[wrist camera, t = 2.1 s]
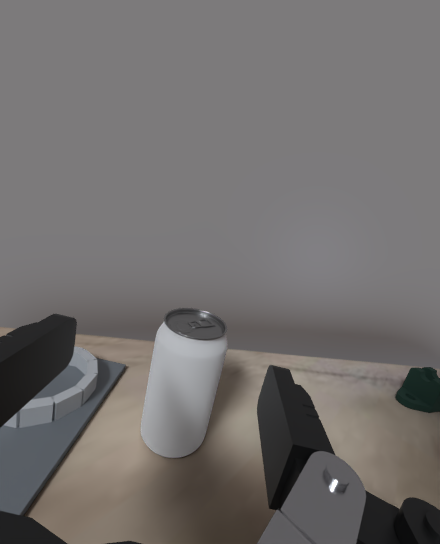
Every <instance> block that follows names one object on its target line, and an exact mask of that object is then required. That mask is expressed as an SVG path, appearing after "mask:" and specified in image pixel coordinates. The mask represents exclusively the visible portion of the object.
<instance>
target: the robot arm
mask: <svg viewBox="0 0 440 544" xmlns="http://www.w3.org/2000/svg"><path fill="white" fill-rule="evenodd" d="M76 323H77V322H76V319H75V318H71V317H67V316H63V315H59V314H53V315H51V316H49V317H47V318H46V319H43V320H42V321H40V322H38V323H33V324H29V325H26V326H22V327H19V328H17V329H15V330H13V331H11V332H10V333H8V334H7V335H6V336H2V337H0V428H1V427H2V426H3V425H4V424H5V423H6V422H7V421H8V420H10V419H11V418H12V417H13V416H14V415H15V414H16V413H17V412H18V411H19V410H21V409H22V408H23V407H24V406H25V405H26V404H27V403H28V402H29V401H30V400H31V399H33V398H34V397H35V396H36V395H37V394H38V393H39V392H40V391H41V390H42V389H44V388H45V387H46V386H47V385H48V384H49V383H50V382H51V381H52V380H53V379H54V378H56V377H57V376H58V375H59V374H60V373H61V372H62V371H63V370H64V369H65V368H66V367H67V366H68V365H69V363H70V361H71V359H72V357H73V353H74V345H75V335H76V325H77V324H76ZM257 416H258V424H259V432H260V440H261V448H262V456H263V464H264V472H265V480H266V488H267V496H268V504H269V509H273V510H276V512H275V514H274V515H273V517H272V519H271V520H270V522H269V524H268V526H267V527H266V529H265V531H264V532H263V534H262V536H261V538H260V539H259V541H258V543H257V544H440V510H439V509H437V508H436V507H434V506H433V505H431V504H429V503H427V502H425V501H423V500H421V499H418V498H407V499H405V500H404V502H403V504H402V506H401V508H400V509H398V508H397V507H395V506H393V505H391V504H389V503H387V502H385V501H384V500H382V499H380V498H378V497H376V496H374V495H372V494H371V493H369V492H367V491H366V490H365V488H364V486H363V483H362V481H361V480H360V478H359V476H358V475H357V474H356V472H355V471H354V470H353V469H352V468H351V467H350V466H349V465H348V464H347V463H346V462H345V461H343V460H342V459H340V458H339V457H337V456H335V453H334V451H333V449H332V446H331V444H330V442H329V439H328V437H327V435H326V432H325V430H324V428H323V425H322V423H321V421H320V419H319V416H318V414H317V411H316V410H315V407H314V404H313V402H312V400H311V397H310V396H309V394H308V393H307V392H306V391H305V390H304V389H303V387H302V386H301V385H297V384H295V383H294V380H293V378H292V375H291V372H290V370H289V369H286V368H281V367H277V366H273V365H270V366H269V367H268V370H267V373H266V376H265V379H264V383H263V386H262V389H261V392H260V395H259V399H258V406H257ZM0 544H67V543H66V542H64V541H63V540H62V539H60V538H59V537H57V536H56V535H55V534H53V533H52V532H50V531H49V530H48V529H46V528H45V527H43V526H42V525H41V524H39V523H38V522H36V521H35V520H34V519H32V518H30V517H25V516H21V515H17V514H13V513H8V512H4V511H0ZM107 544H141V543H137V542H132V541H125V542H116V543H107Z"/></svg>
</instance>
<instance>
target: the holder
mask: <svg viewBox="0 0 440 544" xmlns="http://www.w3.org/2000/svg"><path fill="white" fill-rule="evenodd" d="M125 366H126V365H125V364H120V363H116V362H111V361H107V360H102V359H98V358H95V357H94V356H93V355H92V354H91V353H89V352H88V351H87V350H86V349H85V350H84V348H79V347H75V346H74V353H73V357H72V359H71V361H70V363H69V365H68V366H67V367H66V368H65V369H64V370H63V371H62V372H61V373H60V374H59V375H58V376H57V377H56V378H54V379H53V380H52V381H51V382H50V383H49V384H48V385H47V386H46V387H45V388H44V389H42V390H41V391H40V392H39V393H38V394H37V395H36V396H35V397H34V398H33V399H31V400H30V401H29V402H28V403H27V404H26V405H25V406H24V407H23V408H22V409H21V410H19V411H18V412H17V413H16V414H15V415H14V416H13V417H12V418H11V419H10V420H8V421H7V422H6V423H5V424H4V425H3V426H2V427H1V428H0V511H4V512H8V513H13V514H17V515H21V516H23V515H24V514H25V513H26V511H27V510H28V508H29V507H30V505H31V504H32V502H33V501H34V500H35V498H36V497H37V495H38V494H39V492H40V491H41V490H42V488H43V487H44V485H45V484H46V482H47V481H48V479H49V478H50V477H51V475H52V474H53V472H54V471H55V469H56V468H57V466H58V465H59V464H60V462H61V461H62V459H63V458H64V456H65V455H66V453H67V452H68V451H69V449H70V448H71V446H72V445H73V443H74V442H75V440H76V439H77V438H78V436H79V435H80V433H81V432H82V430H83V429H84V427H85V426H86V425H87V423H88V422H89V420H90V419H91V417H92V416H93V414H94V413H95V412H96V410H97V409H98V407H99V406H100V404H101V403H102V401H103V400H104V399H105V397H106V396H107V394H108V393H109V391H110V390H111V388H112V387H113V386H114V384H115V383H116V381H117V380H118V378H119V377H120V375H121V374H122V373H123V371H124V370H125Z"/></svg>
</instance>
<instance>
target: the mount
mask: <svg viewBox="0 0 440 544" xmlns="http://www.w3.org/2000/svg"><path fill="white" fill-rule="evenodd" d="M395 398H396V400H397V401H398V402H399V403H401V404H402V405H404V406H405V407H407V408H410V409H414V410H419V411H423V412H428V413H432V412H438V411H440V378H439V377H438V376H437V371H436V370H435V369H433V368H431V367H424V368H422V369H421V368H411V369H410V371H409V373H408V375H407V377H406V379H405V381H404V384H403V386H402V387H401V388H400V389H399V390H398V392H397V394H396V396H395Z"/></svg>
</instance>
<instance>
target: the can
mask: <svg viewBox="0 0 440 544" xmlns="http://www.w3.org/2000/svg"><path fill="white" fill-rule="evenodd" d="M226 331H227V326H226V324H225V322H224V321H223V320H222V319H221V318H219V317H218V316H216V315H214V314H212V313H210V312H207V311H203V310H199V309H193V308H179V309H174V310H171V311H169V312H168V313H167V314H166V315H165V317H164V323H163V324H162V325H161V326H160V328H159V330H158V331H157V335H156V339H155V345H154V350H153V356H152V362H151V367H150V373H149V379H148V385H147V391H146V397H145V403H144V409H143V415H142V421H141V436H142V438H143V440H144V442H145V444H146V445H147V446H148V447H149V448H150V449H151V450H152V451H153V452H155V453H156V454H158V455H160V456H163V457H167V458H179V457H183V456H186V455H189V454H191V453H193V452H194V451H195V450H197V449H198V448H199V446H200V445H201V444H202V442H203V440H204V437H205V434H206V431H207V427H208V423H209V419H210V415H211V411H212V407H213V403H214V400H215V396H216V392H217V388H218V384H219V380H220V376H221V372H222V368H223V364H224V360H225V355H226V351H227V338H226V334H225V333H226Z"/></svg>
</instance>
